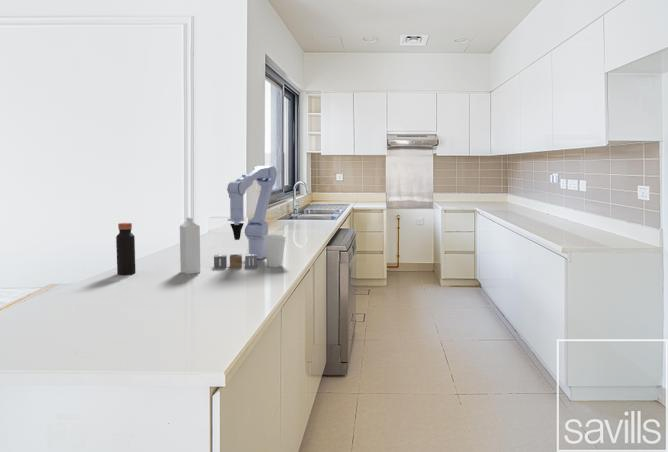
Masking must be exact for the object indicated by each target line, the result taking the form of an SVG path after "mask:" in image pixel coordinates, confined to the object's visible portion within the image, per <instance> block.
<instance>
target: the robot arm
mask: <svg viewBox="0 0 668 452" xmlns="http://www.w3.org/2000/svg"><path fill="white" fill-rule="evenodd" d="M277 176H278V173H277V168H276V167H275V165H255V166H254V167H253V169H252V170H251V171H250V173H249V174H247V173H245V174H244V173H243V174H242V175H241V177H239V178H236V180H234V181H230V182H229V183H228V184H227V188H226V190H227V193H228V198H229V205H230V206H229V207H230V208H229V210H230V212H229V215H230V218H227V222H228V221H230V222H233V223H230V228H231V229H232V233H233V238H234V241H240V239H241V235H242V228H243V227H244V221H245V218H244V217H245V216H244V214H245V213H244V212H245V211H244V195H245V194H246V192H247V190H248V189H249V188H250V187H251V186H252V185H253V183H254V182H255V181H256V182H257V185H258V186H260V191H259V194H258V199H257V203H256V206H255V210H254V214H253V217H251V218H250V219H249V220H248V221H247V224H246V225H245V227H244V235H245V237H246V239H247V240H248V254H257V260H261V259H266V253H265V245H264V235H269V225H270V224H269V223H268V222H267V221H266V220H265V219H266V216H267V212H268V211H267V210H268V207H269V204H270V200H271V196H272V192H273V187H274V186H275V184H276V181H277Z"/></svg>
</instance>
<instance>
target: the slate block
mask: <svg viewBox="0 0 668 452" xmlns="http://www.w3.org/2000/svg"><path fill="white" fill-rule="evenodd" d="M244 257H245V260H244V264H245V267H244V268H249V269H251V268H258V259H257V254H249V253H248V254H247V253H246V254H245V256H244Z"/></svg>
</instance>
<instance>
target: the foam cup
mask: <svg viewBox="0 0 668 452" xmlns="http://www.w3.org/2000/svg"><path fill="white" fill-rule="evenodd" d="M285 243H286V235H284V234H268V235H264V245H265V253H266V257H265V259H266V266H267V267H268V268H269V267H270V268H279V266H280V267H282V266H283V259H284V252H285Z"/></svg>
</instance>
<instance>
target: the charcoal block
mask: <svg viewBox="0 0 668 452" xmlns="http://www.w3.org/2000/svg"><path fill="white" fill-rule="evenodd" d="M227 256H228V254H214V256H213V269H227V265H228V263H227V262H228V261H227V258H228V257H227Z"/></svg>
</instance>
